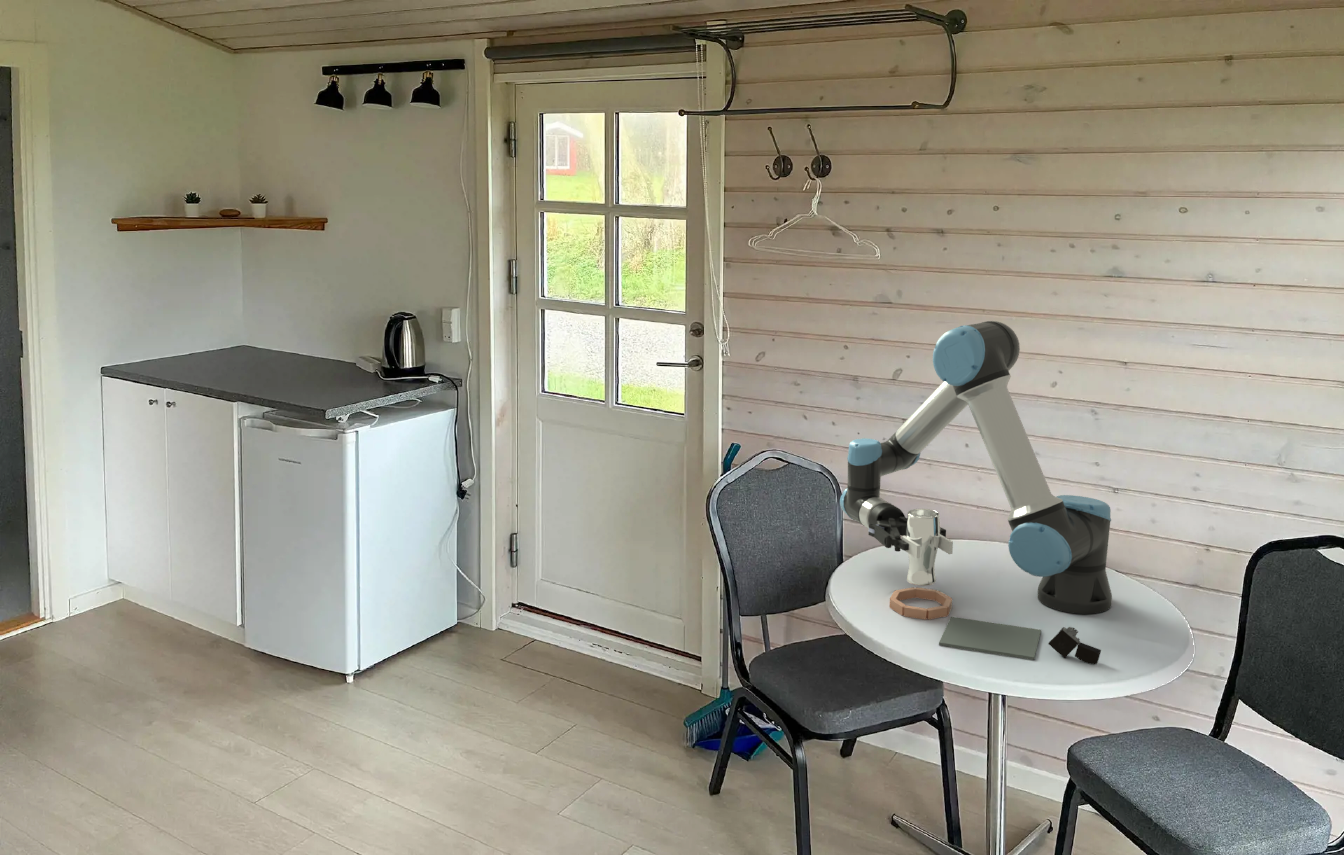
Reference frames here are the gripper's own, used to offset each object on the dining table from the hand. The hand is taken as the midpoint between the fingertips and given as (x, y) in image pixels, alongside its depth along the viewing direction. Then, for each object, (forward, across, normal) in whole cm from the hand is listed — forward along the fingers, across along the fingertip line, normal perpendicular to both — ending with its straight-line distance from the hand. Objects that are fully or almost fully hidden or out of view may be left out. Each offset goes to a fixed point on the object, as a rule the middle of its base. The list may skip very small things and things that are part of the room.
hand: (934, 549), depth 237 cm
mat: (+14, -5, -15) cm, 21 cm away
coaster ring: (-5, 0, -14) cm, 15 cm away
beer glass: (-5, 0, -9) cm, 10 cm away
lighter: (+26, -16, -15) cm, 34 cm away
